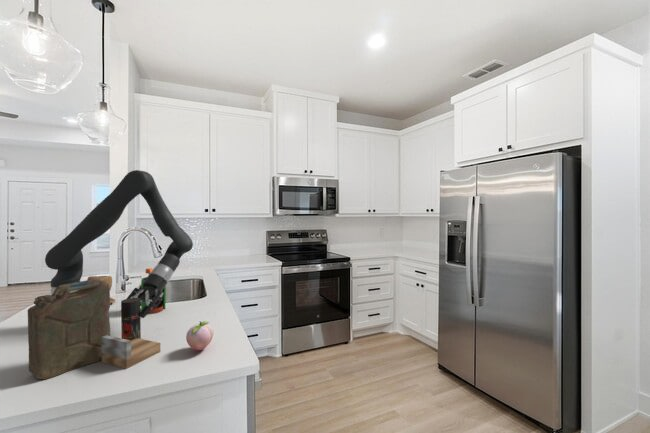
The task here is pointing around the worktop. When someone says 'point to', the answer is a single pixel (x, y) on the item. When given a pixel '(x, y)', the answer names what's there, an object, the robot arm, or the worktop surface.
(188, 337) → the decorative fruit
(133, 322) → the deodorant
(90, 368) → the worktop surface
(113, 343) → the step
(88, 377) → the worktop surface
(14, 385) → the worktop surface
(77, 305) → the canister
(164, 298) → the motor
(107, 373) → the worktop surface
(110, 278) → the stone cup
